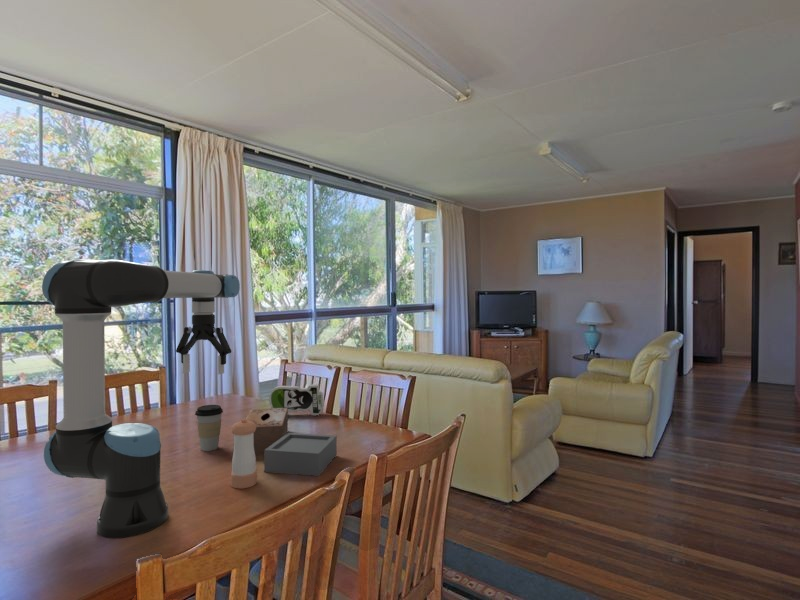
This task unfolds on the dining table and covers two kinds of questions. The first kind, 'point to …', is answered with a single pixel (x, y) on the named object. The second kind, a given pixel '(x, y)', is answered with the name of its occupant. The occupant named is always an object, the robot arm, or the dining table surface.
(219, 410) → the coffee cup
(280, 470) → the tray
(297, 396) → the cutout
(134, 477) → the robot arm
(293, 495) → the dining table surface
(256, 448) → the tissue box cover
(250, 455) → the salt shaker
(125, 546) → the dining table surface
